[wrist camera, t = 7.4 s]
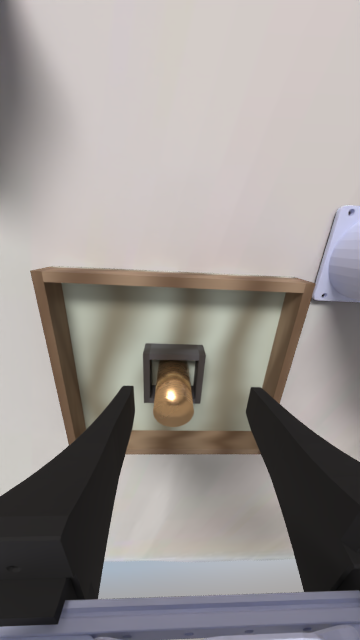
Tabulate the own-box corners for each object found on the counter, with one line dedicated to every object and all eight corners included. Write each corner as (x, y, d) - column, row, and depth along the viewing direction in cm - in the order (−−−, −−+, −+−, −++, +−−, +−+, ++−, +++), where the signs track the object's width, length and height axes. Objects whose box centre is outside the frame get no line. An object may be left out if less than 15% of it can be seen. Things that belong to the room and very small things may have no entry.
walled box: (294, 277, 19) (315, 283, 16) (254, 431, 26) (264, 454, 23) (53, 266, 17) (30, 270, 15) (82, 430, 25) (71, 454, 22)
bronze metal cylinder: (187, 353, 21) (193, 394, 15) (188, 378, 22) (194, 425, 16) (157, 355, 20) (151, 397, 15) (159, 380, 22) (154, 428, 16)
